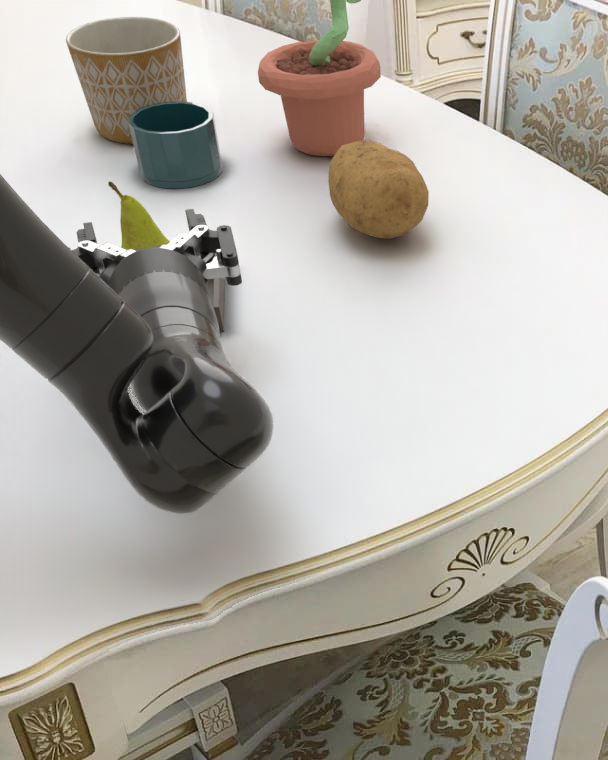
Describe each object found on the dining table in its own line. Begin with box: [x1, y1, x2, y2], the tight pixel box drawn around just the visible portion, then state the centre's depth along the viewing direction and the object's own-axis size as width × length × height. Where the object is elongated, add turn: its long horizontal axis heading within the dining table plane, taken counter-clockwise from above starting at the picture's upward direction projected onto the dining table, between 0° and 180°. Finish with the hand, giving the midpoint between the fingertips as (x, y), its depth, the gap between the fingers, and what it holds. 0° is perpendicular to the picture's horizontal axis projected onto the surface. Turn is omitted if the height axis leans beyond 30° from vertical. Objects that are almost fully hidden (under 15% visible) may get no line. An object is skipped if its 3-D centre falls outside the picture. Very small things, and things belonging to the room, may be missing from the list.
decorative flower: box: [257, 0, 382, 157], centre depth 121 cm, size 15×14×30 cm
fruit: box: [107, 180, 171, 250], centre depth 100 cm, size 6×6×12 cm
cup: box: [128, 101, 223, 190], centre depth 124 cm, size 9×9×6 cm
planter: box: [65, 16, 188, 145], centre depth 130 cm, size 13×13×10 cm
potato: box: [327, 140, 430, 240], centre depth 114 cm, size 10×14×8 cm
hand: (140, 226), depth 96 cm, fingers open, 8 cm apart
